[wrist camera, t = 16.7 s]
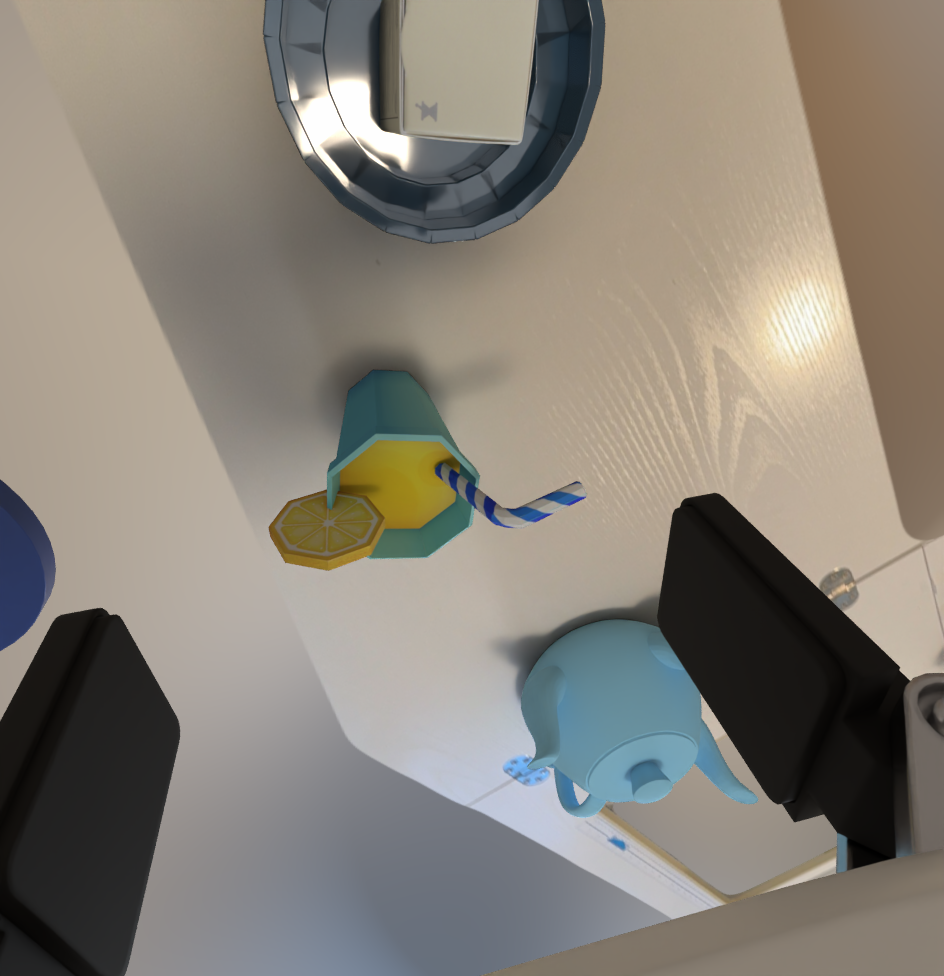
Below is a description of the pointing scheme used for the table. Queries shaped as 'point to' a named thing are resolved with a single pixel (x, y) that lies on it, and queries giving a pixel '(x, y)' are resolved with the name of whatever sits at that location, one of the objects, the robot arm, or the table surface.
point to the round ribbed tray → (418, 161)
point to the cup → (395, 485)
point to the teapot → (619, 718)
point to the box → (456, 68)
